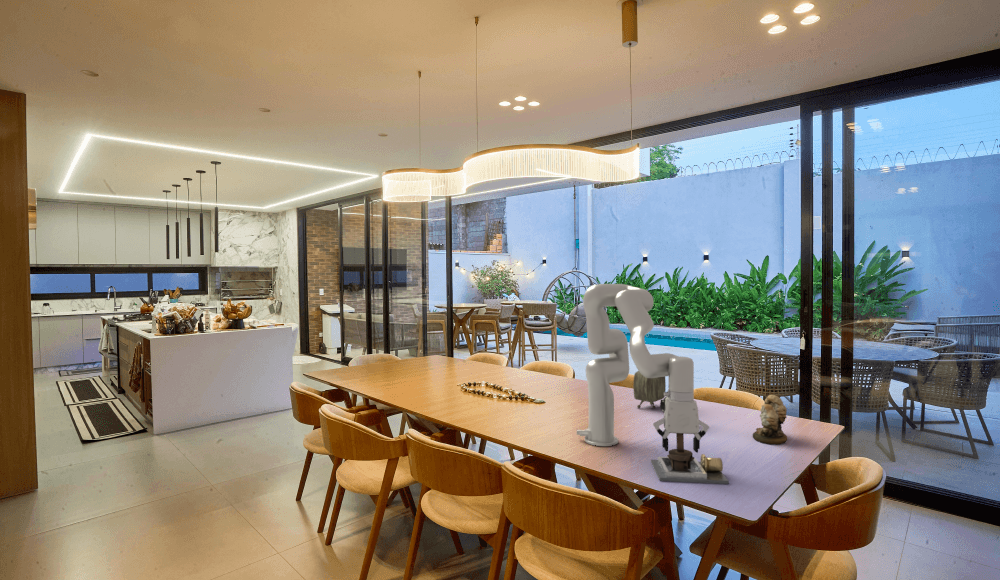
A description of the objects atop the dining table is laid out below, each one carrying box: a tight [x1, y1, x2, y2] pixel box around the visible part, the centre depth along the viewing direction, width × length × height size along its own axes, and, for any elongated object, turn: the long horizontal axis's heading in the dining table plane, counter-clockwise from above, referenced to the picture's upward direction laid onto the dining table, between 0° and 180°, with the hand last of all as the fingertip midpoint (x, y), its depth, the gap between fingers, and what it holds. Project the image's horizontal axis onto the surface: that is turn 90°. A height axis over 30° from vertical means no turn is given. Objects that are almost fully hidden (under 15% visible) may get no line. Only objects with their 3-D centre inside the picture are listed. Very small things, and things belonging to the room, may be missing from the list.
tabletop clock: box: [632, 370, 667, 409], centre depth 244 cm, size 14×9×25 cm, turn 130°
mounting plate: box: [650, 453, 730, 485], centre depth 160 cm, size 20×16×6 cm
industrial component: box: [666, 433, 695, 471], centre depth 160 cm, size 9×7×12 cm
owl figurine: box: [752, 394, 788, 446], centre depth 195 cm, size 18×12×17 cm, turn 150°
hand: (680, 450), depth 160 cm, fingers open, 8 cm apart
